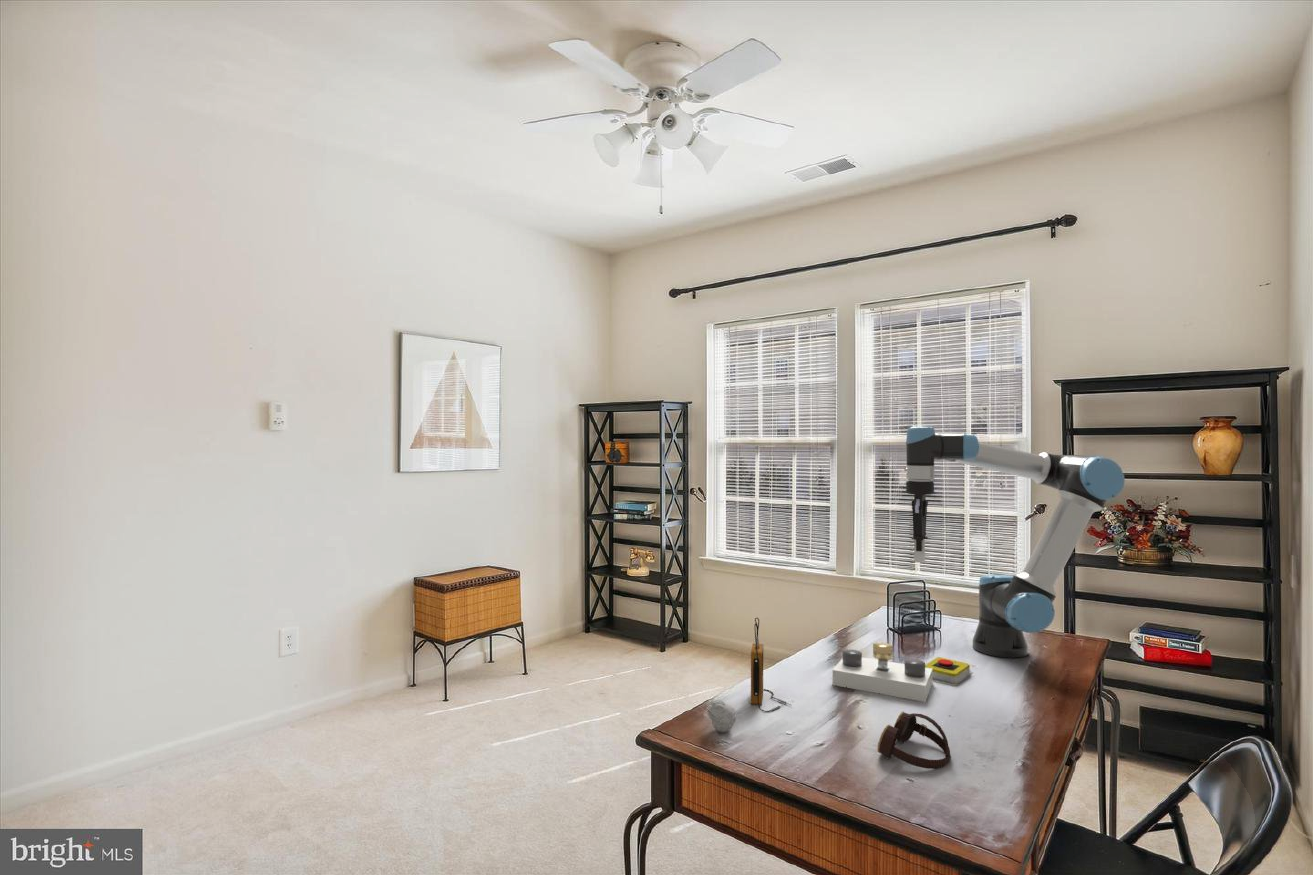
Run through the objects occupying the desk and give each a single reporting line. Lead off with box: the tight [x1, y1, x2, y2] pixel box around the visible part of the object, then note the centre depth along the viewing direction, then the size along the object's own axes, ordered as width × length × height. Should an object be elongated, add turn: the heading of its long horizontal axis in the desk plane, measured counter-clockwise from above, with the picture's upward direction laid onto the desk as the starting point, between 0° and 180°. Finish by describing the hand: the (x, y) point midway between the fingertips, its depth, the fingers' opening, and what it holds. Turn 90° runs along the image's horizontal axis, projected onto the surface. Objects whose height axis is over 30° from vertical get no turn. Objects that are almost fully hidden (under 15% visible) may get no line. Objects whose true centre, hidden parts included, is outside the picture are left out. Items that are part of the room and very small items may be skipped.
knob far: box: [842, 649, 863, 667], centre depth 185 cm, size 5×5×7 cm
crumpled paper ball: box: [706, 699, 737, 733], centre depth 152 cm, size 6×7×7 cm
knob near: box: [904, 658, 926, 677], centre depth 177 cm, size 5×5×7 cm
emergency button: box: [925, 656, 973, 687], centre depth 188 cm, size 9×4×15 cm
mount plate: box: [832, 657, 934, 703], centre depth 181 cm, size 23×14×4 cm, turn 61°
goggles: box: [877, 711, 952, 770], centre depth 141 cm, size 15×13×10 cm
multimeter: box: [750, 617, 792, 713], centre depth 169 cm, size 15×10×20 cm
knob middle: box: [872, 642, 894, 672], centre depth 181 cm, size 5×5×7 cm
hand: (919, 561), depth 197 cm, fingers closed
